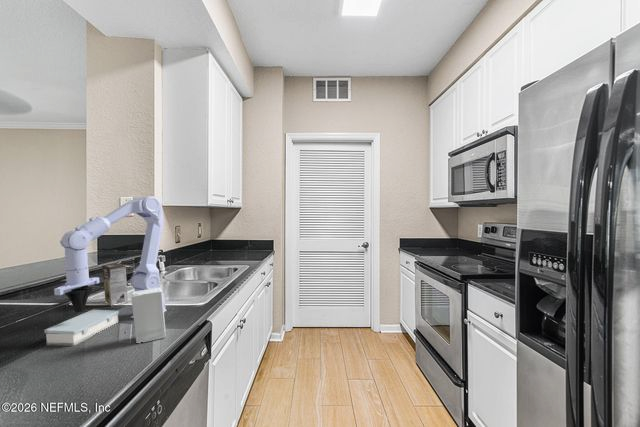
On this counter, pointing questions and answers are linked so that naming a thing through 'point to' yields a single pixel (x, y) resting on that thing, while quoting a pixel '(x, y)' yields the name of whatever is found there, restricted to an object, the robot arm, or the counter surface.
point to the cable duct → (80, 333)
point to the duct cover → (81, 322)
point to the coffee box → (115, 283)
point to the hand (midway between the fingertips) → (80, 311)
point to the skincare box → (148, 315)
